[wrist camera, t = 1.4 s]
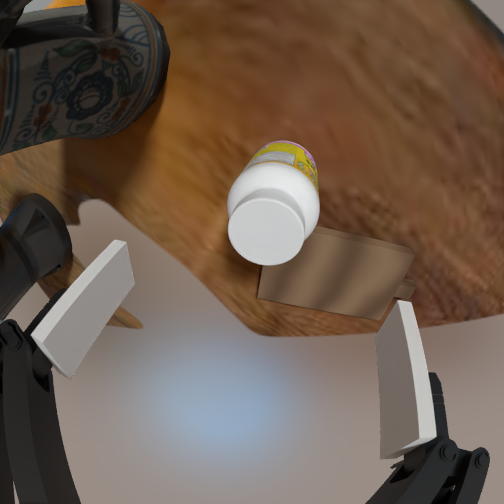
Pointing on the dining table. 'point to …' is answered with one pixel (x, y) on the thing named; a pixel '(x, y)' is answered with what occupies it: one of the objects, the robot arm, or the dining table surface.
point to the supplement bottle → (274, 204)
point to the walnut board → (341, 275)
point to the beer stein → (76, 70)
